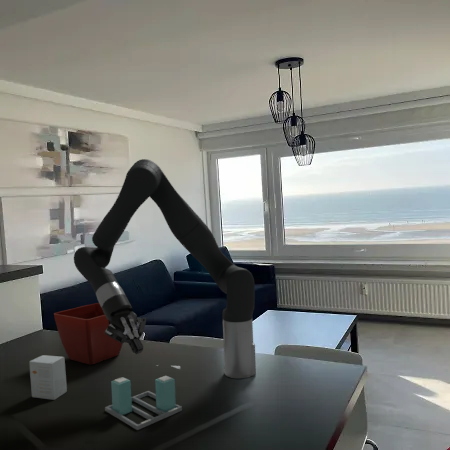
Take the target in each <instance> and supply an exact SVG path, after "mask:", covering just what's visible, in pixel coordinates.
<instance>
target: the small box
mask: <svg viewBox="0 0 450 450" xmlns="http://www.w3.org/2000/svg"><path fill="white" fill-rule="evenodd" d="M65 361H66V360H65V356H56V355H47V354H44V355H43V354H42V355H39V356H38V357H36V358H34V359H31V360H29V376H30V387H31V388H30V389H31V397H32V398H37V399H45V400H53V401H55V400H56V399H58V398H59V397H61V396H63V395H64V394H66V393H67V391H68V390H67V389H68V385H67V375H66V374H67V373H66V363H65Z"/></svg>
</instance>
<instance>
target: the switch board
mask: <svg viewBox="0 0 450 450" xmlns="http://www.w3.org/2000/svg"><path fill="white" fill-rule="evenodd" d="M148 396H149V397H150V398H153V400H154V399H155V400H156V393H155V392H152V391H150V390H147V391H144V392H142V393H139V394H136V395H133V396H131V400H132V402H134V403H136V404H138V405H140V406H142V407H144V408H146V409H147V410H149V411H151V412H153V413H155V414H157V415H156V416H153V415H151V414H149V413H147V412H145V411H143V410H142V409H140V408H138V407H136V406H134V405H133V404H132V412H134V413H136V414H138V415H140V417H143V419H144V418H145V419H146V420H144V421H141V422H140V423H136V422H135V421H133V420H131V419H129V418H128V417H126V416H125V415H121V414H119V413H118V412H116V411H114V410H113V408H112V404H109V405H107V406H105V407H104V411H105V412H106V413H108V414H110V415H111V416H113V417H115V418H117V419H118V420H120V421H121V422H123V423H125V424H127V425H128V426H130V427H131V428H133V429H134V430H136V431H139V430H141V429H143V428H146V427H149V426H151V425H152V424H154V423H157V422H159V421H161V420H164V419H166V418H169V417H170V416H173V415H175V414H177V413H179V412H182V411H183V407H182V405H179V404H178V403H177V404H176V408H174V409H172V410H169V411H168V412H166V413H165V412H163V411H162V410H160V409H158V408H156V406H154V405H152V404H150V403H147V402H146V401H144V400H142V398H145V397H148Z"/></svg>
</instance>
